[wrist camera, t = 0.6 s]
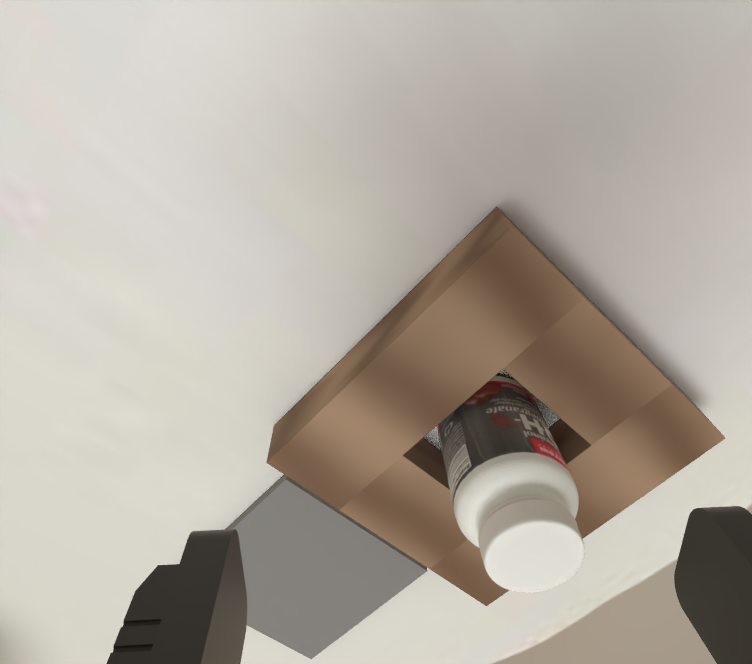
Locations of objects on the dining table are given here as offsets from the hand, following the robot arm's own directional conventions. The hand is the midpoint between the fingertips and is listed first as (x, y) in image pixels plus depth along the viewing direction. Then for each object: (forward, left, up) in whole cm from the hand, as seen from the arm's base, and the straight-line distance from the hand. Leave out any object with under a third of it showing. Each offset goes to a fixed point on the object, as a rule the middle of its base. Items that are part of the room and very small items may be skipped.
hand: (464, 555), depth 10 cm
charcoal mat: (+19, +10, -18) cm, 29 cm away
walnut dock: (+4, +10, -18) cm, 22 cm away
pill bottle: (+4, +10, -19) cm, 22 cm away
